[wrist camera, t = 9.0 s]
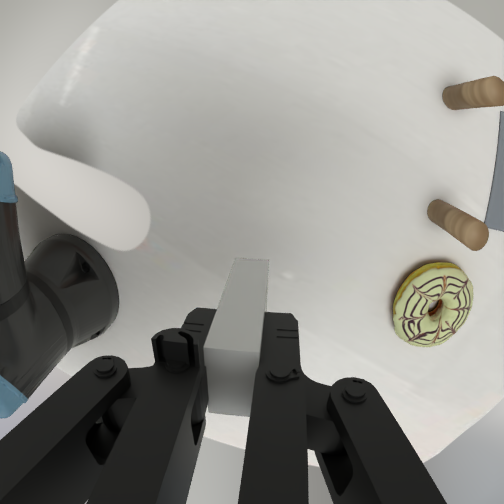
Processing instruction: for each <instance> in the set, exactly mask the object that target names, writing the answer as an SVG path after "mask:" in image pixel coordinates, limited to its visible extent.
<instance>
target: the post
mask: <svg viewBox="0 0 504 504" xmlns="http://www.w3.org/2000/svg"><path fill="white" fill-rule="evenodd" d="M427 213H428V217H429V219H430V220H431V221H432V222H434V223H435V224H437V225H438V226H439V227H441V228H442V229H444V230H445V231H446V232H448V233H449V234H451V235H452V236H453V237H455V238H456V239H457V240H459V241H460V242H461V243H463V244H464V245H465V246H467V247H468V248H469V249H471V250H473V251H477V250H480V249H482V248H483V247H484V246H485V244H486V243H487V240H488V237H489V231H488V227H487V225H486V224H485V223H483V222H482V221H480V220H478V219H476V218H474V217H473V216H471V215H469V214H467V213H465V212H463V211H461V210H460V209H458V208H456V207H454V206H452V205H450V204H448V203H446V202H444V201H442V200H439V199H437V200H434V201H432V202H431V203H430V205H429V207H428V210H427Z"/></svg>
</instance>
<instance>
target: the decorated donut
mask: <svg viewBox="0 0 504 504" xmlns="http://www.w3.org/2000/svg"><path fill="white" fill-rule="evenodd" d="M437 300H439V302H438V305H437V307H436V308H435V309H434V310H433V311H431V312H428V309H429V305H430V304H431V303H432V302H434V301H437ZM472 301H473V286H472V283H471V281H470V280H469V279H468V277H467V275H466V274H465V273H464V272H463V271H462V270H461V269H460V268H459V267H458V266H456V265H455V264H452V263H440V262H436V263H431V264H426V265H424V266H422V267H420V268H419V269H417V270H415V271H414V272H412V273H411V274H410V275H409V276H408V277H407V278H406V280H405V281H404V282H403V284H402V285H401V287H400V288H399V290H398V292H397V295H396V298H395V300H394V303H393V321H394V326H395V328H394V330H395V332H396V334H397V336H398V337H399V338H401V339H402V340H404V341H405V342H407V343H409V344H410V345H414V346H419V347H432V346H436V345H440V344H442V343H444V342H445V341H447V340H448V339H449V338H450V337H451V336H452V335H453V334H455V333H456V332H457V331H458V329H459V328H460V327H461V326H462V325H463V324H464V323H465V321H466V319H467V317H468V315H469V313H470V310H471V308H472Z"/></svg>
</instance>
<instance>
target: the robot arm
mask: <svg viewBox="0 0 504 504" xmlns="http://www.w3.org/2000/svg"><path fill="white" fill-rule="evenodd" d="M16 202H18V199H17V196H16V195H15V189H14V181H13V171H12V164H11V161H10V159H9V157H8V156H7V155H6V154H4V153H3V152H1V151H0V418H7V417H9V416H11V415H12V414H13V413H14V412H15V411H16V410H17V409H18V408H19V407H20V406H21V405H22V404H23V403H26V402H27V400H28V398H29V397H30V396H31V395H32V394H33V392H34V391H35V390H36V389H37V387H38V386H39V385H40V384H41V382H42V381H43V380H44V379H45V378H46V377H47V375H48V374H49V373H50V372H51V371H52V370H53V368H54V367H55V366H56V365H57V364H58V363H59V361H60V360H61V359H62V358H63V357H64V356H65V355H66V353H67V352H68V351H69V350H70V349H71V348H74V347H76V346H78V345H80V344H83V343H85V342H87V341H89V340H91V339H94V338H96V337H98V336H100V335H101V334H103V333H104V332H105V331H106V329H107V328H108V327H109V326H110V325H111V324H112V323H113V321H114V319H115V317H116V315H117V311H118V304H119V300H118V291H117V287H116V283H115V280H114V278H113V275H112V273H111V271H110V269H109V268H108V266H107V264H106V263H105V261H104V260H103V258H102V257H101V256H100V255H99V254H98V253H97V251H96V250H95V249H94V248H92V247H91V246H90V245H89V244H88V243H86V242H85V241H83V240H81V239H79V238H77V237H75V236H72V235H67V234H59V235H55V236H52V237H50V238H48V239H46V240H45V241H43V242H41V243H40V244H39V245H37V246H36V247H35V249H34V250H33V252H32V253H31V255H30V256H29V257H28V258H27V260H26V261H25V262H24V258H23V252H22V247H21V241H20V235H19V228H18V220H17V211H16ZM268 273H269V260H262V259H245V258H235V261H234V264H233V266H232V269H231V272H230V275H229V277H228V280H227V283H226V286H225V288H224V291H223V294H222V297H221V300H220V302H219V305H218V308H217V309H207V308H196V309H194V310H193V311H192V312H190V313H189V314H188V315H187V317H186V319H185V321H184V324H183V325H182V327H181V328H171V329H166V330H162V331H160V332H158V333H156V334H155V335H154V336H153V337H152V338H151V340H152V346H153V352H154V358H155V363H154V365H153V366H150V367H144V368H128V367H127V364H126V363H125V361H124V360H122V359H121V358H119V357H116V356H101V357H98V358H95V359H94V360H92V361H90V362H89V363H88V364H87V365H86V366H84V367H83V368H82V369H81V370H80V371H79V372H77V373H76V374H75V375H74V376H73V377H72V378H70V379H69V380H68V381H67V382H66V383H65V384H63V385H62V386H61V387H60V388H59V389H58V390H57V391H55V392H54V393H53V394H52V395H51V396H50V397H49V398H47V399H46V400H45V401H44V402H43V403H42V404H41V405H39V406H38V407H37V408H36V409H35V410H34V411H33V412H32V413H30V414H29V415H28V416H27V417H26V418H25V419H24V420H22V421H21V422H20V423H19V424H18V425H17V426H16V427H15V428H13V429H12V430H11V431H10V432H9V433H8V434H7V435H6V436H5V437H3V438H2V439H1V440H0V504H84V503H85V502H86V501H87V500H88V502H87V504H186V501H187V497H188V493H189V488H190V485H191V481H192V477H193V473H194V469H195V465H196V461H197V457H198V453H199V450H200V446H201V442H202V438H203V434H204V430H205V426H206V419H205V412H206V408H207V405H208V412H209V413H217V414H226V415H235V416H246V417H250V420H249V427H248V435H247V442H246V449H245V458H244V464H243V471H242V478H241V485H240V492H239V499H238V504H309V503H308V453H307V449H310V450H314V451H315V455H316V458H317V460H318V463H319V466H320V468H321V471H322V474H323V476H324V479H325V482H326V485H327V487H328V490H329V493H330V495H331V498H332V501H333V503H334V504H447V503H446V502H445V500H444V498H443V496H442V495H441V493H440V491H439V490H438V488H437V486H436V485H435V483H434V481H433V479H432V478H431V476H430V475H429V473H428V471H427V469H426V468H425V466H424V465H423V463H422V461H421V460H420V458H419V456H418V455H417V453H416V451H415V450H414V448H413V447H412V445H411V443H410V442H409V440H408V438H407V437H406V435H405V434H404V432H403V430H402V429H401V427H400V426H399V424H398V422H397V421H396V419H395V418H394V416H393V414H392V413H391V411H390V410H389V408H388V407H387V405H386V403H385V402H384V400H383V399H382V397H381V396H380V394H379V392H378V391H377V389H376V388H375V387H374V386H373V385H372V384H371V383H369V382H367V381H365V380H364V379H359V378H355V377H351V378H343V379H340V380H338V381H337V382H335V383H334V384H333V385H332V386H328V385H324V384H320V383H318V382H315V381H313V380H311V379H309V378H308V377H307V376H306V375H305V374H304V373H303V371H302V369H301V365H300V348H299V332H298V321H297V320H296V318H295V317H294V316H293V315H292V314H291V313H273V312H266V308H267V290H268Z"/></svg>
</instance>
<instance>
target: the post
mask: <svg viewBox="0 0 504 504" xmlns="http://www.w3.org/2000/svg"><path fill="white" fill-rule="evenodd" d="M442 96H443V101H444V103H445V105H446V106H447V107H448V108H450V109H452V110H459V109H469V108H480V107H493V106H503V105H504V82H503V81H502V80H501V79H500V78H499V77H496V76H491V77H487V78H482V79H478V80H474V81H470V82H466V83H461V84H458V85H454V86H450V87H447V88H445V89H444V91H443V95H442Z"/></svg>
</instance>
